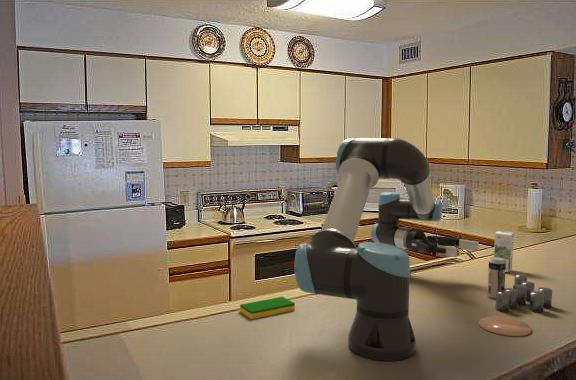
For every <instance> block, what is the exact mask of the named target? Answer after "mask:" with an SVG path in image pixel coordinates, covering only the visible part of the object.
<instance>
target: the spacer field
mask: <svg viewBox="0 0 576 380" xmlns="http://www.w3.org/2000/svg"><path fill="white" fill-rule="evenodd" d="M513 282H514V283H513V285H512V287H511V288H510V287H507V288H506V287H505V290H504V291H496V299H495V311H498V312H501V313H508V312H510V310H517V309H518V306H525V305H527V304H526V303H527V302H529V309H528V310H529V311H530V312H533V313H541V314H543V313H544V311H545V310H544V309H551V308H552V302H553V288H552V289H551V288H549V287H538V288H537V289H538V290H535V285H536V284H535V282H533V281H528V275H527V274H524V273H523V274H522V273H516V274H514V281H513Z"/></svg>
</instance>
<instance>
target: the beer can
mask: <svg viewBox="0 0 576 380" xmlns="http://www.w3.org/2000/svg"><path fill="white" fill-rule="evenodd" d="M505 270H506V262H505V259H503V258H499V257H494V256H493V257H490V258H489V260H488V273H487V290H486V291H487V292H486V293H487V297H489V298H490V299H492V298H493V299H494V300H496V291H504V290H505V289H506V273H505Z"/></svg>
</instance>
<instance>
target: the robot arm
mask: <svg viewBox="0 0 576 380" xmlns="http://www.w3.org/2000/svg"><path fill="white" fill-rule="evenodd" d="M335 170H336V172H337V174H338V176H339V177H340V178H339V179H340V180H339V183H338V186H337V188H336V191H335V193H334V195H333V198H332V200H331V203H330V207H329V209H328V212H327V214H326V217H325V218H324V219H325V220H324V222H323V224H322V227H321V230H319V231H317V232H315V233H314V234H312V236H311V239H310V241H309V243H306V242H303V243H300V244H298V246H297V248H296V250H295V256H294V264H293V265H294V277H295V281H296V284H297V287H298V288H299V290H300V291H302V292H303V293H307V294H314V295H315V296H318V295H320V296H321V295H322V296H327V297H328V296H329V297H336V298H343V299H350V300H355V301H356V311H355V312H356V313H355V315H354V319H353V321H352V324H351V327H350V329H349V333H348V339H347V340H348V342H347V345H348V348H349V349H350V350H351V352H353V353H354V352H355V354H356V353H357V355H358V354H359V355H358V356H360V355H361V357H363V358H366V357H367V358H366V359H371V360H376V361H385V362H387V361H388V362H390V361H392V362H393V361H402V360H405V359H408V358H411V357H412V356H413V355H414V354H416V347H417V346H416V344H417V341H416V337H415V333H414V330H413V326H412V324H411V319H410V315H409V312H410V310H409V308H410V307H409V306H410V280H411V279H410V277H411V273H412V272H411V267H410V265H411V263H410V262H411V261H410V260H411V259H410V256H409V255H408V253H407V252H406V251H405V250H409V251H413V252H422V253H424V254H427V255H431V256H433V257H436V256H437V255H436V254H438V255H442V256H447V257H453V258H457V256H458V255H457V254H458V248H459V249H460V248H461V249H465V250H471V251H479V246H480V244H479V243H480V242H479V241H473V240H468V239H463V238H462V236H459V237H453V236H441V235H435V234H434V235H426V233H425V232H424V230H422V229H417V228H411V227H407V226H406V227H404V226H400V220H409V221H421V222H439V221H440V222H441V220H442V216H443V204H442V201H441V200H439V199H434V195H433V193H432V187H431V183H430V179H429V175H430V171H431V169H430V164H429V161H428V159H427V157H426V156H425V154H424V153H423V152H422V151H421V150H420V149H419V148H418V147H417V146H416V145H413V143H411V142H409V141H406V140H404V139H400V138H398V137H397V138H396V137H395V138H394V137H393V138H392V137H390V138H386V137H384V138H383V137H382V138H381V137H380V138H379V137H378V138H377V137H373V138H372V137H371V138H370V137H354V138H347V139H344V140H343V141H342V142H341V143H340V144H339V147H338V149H337V152H336V157H335ZM379 179H398V180H399V181H400V182H401V183H402V184H403V185H404V188H405V191H406V194H407V197H408V198H404V197H401V194H400V193H399V192H396V191H383V192H381V193H380V194H379V195H378V204H377V207H378V209H377V210H378V216H377V217H378V218H377V219H378V221H377V223H375V224H374V225H372V227H371V229H372V230H371V231H370V237H371V240H372V241H373V242H371V241H364V242H360V243H359V244H358V245H357V246H356V243H354V241H355V239H356V238H355V237H356V234H357V232H358V228H359V225H360V222H361V219H362V216H363V212H364V208H365V206H366V203H367V200H368V196H369V193H370V190H371V189H373V188H374V187H376V185H377V184H378V182H379ZM456 247H458V248H456Z"/></svg>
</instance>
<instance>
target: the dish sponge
mask: <svg viewBox="0 0 576 380" xmlns="http://www.w3.org/2000/svg"><path fill="white" fill-rule="evenodd" d="M295 310H296V303H295V302H293V301H292V300H289V299H288V298H286V297H284V296H279V297H274V298H269V299H263V300H257V301H252V302H246V303H242V304H239V313H242V314H243V315H245V316H246V318H247V317H248V318H249V319H251V320H255V319H258V318H263V317H264V318H265V317H269V316H273V315H279V314H284V313H288V312H293V311H295Z"/></svg>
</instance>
